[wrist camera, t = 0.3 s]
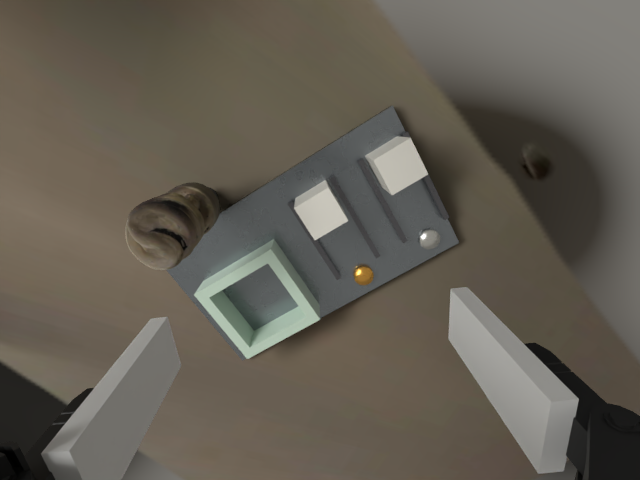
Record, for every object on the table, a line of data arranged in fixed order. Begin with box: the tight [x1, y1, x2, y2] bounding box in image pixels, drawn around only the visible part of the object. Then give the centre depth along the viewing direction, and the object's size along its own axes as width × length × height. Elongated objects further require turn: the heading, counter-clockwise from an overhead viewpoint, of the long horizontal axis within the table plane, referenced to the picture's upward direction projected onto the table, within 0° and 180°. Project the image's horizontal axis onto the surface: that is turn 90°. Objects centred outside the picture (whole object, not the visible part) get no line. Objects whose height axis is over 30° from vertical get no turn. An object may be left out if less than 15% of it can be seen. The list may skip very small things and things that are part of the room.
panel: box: [167, 106, 459, 360], centre depth 40 cm, size 18×32×2 cm, turn 121°
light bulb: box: [125, 183, 220, 270], centre depth 31 cm, size 6×6×15 cm
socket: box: [194, 239, 320, 359], centre depth 40 cm, size 10×10×4 cm
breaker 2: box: [365, 136, 428, 195], centre depth 34 cm, size 4×4×5 cm
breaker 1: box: [294, 180, 348, 240], centre depth 35 cm, size 4×4×5 cm
